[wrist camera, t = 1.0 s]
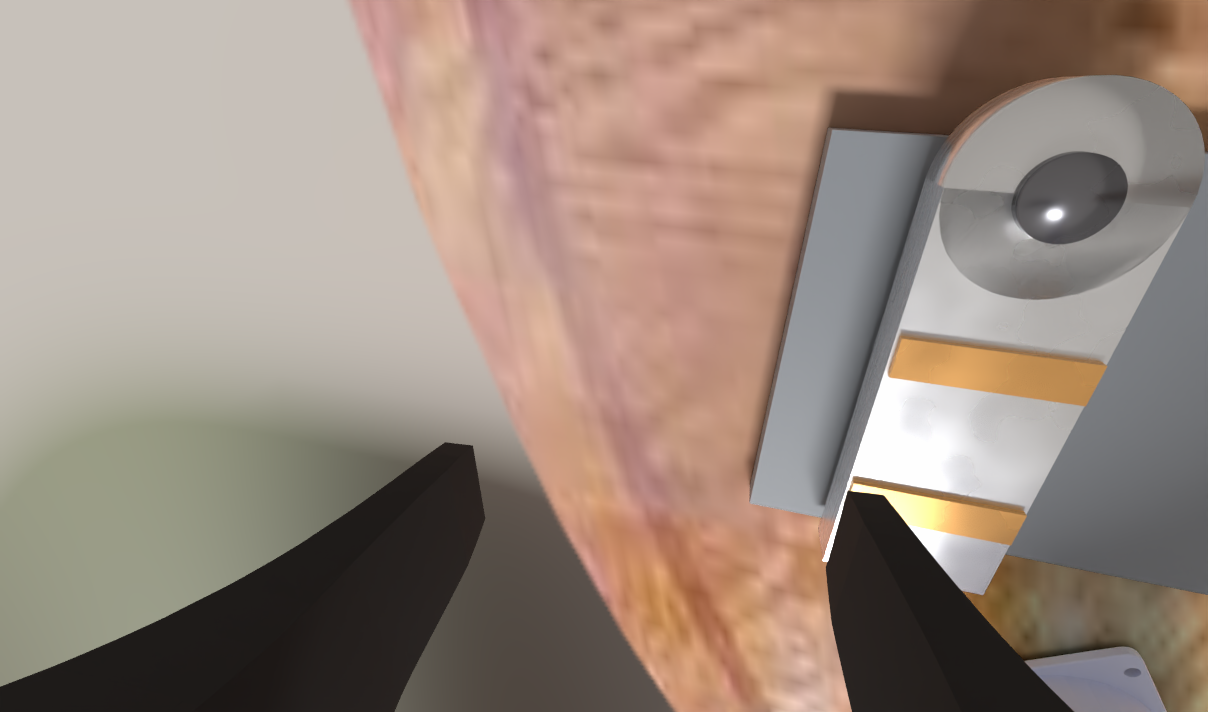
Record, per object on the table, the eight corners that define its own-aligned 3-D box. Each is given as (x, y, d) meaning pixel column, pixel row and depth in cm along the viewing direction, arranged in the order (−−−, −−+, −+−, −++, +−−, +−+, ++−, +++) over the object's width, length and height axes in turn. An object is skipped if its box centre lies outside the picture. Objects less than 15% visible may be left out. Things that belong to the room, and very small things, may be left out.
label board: (1812, 164, 11) (1928, 172, 10) (1361, 605, 18) (1402, 640, 17) (832, 108, 15) (838, 110, 14) (749, 486, 22) (749, 508, 21)
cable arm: (958, 71, 13) (989, 68, 11) (1201, 81, 12) (1276, 80, 10) (818, 528, 20) (824, 569, 18) (966, 558, 19) (988, 605, 17)
